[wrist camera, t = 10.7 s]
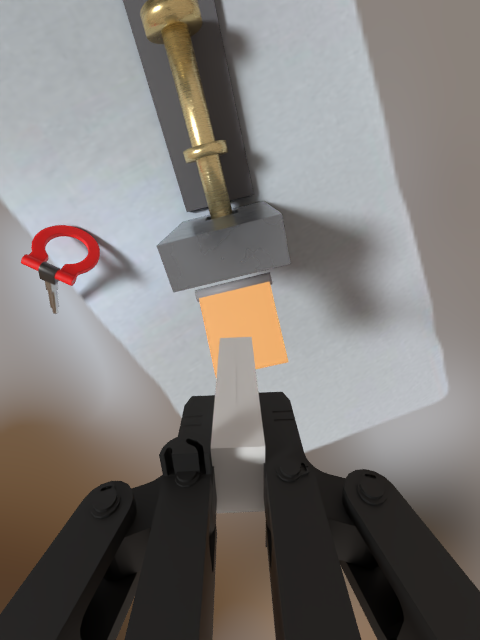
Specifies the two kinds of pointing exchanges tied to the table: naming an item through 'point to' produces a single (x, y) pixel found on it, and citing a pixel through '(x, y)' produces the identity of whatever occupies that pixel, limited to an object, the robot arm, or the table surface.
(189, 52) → the gold metal bolt
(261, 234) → the grey rectangular plate
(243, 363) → the robot arm
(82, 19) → the table surface
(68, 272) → the tow hook
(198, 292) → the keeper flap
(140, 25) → the mat
